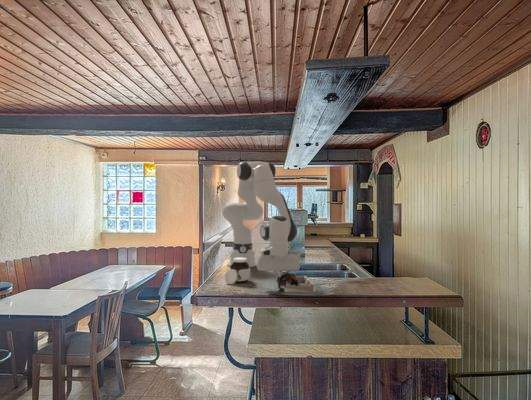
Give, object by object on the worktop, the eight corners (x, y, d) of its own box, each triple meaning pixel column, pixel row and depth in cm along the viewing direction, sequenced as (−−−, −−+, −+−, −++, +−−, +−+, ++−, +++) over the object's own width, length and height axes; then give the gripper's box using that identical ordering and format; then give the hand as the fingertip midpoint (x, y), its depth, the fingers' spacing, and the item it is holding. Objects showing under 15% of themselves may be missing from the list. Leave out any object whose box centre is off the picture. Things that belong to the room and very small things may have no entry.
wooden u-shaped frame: (277, 281, 176) (277, 275, 176) (305, 281, 178) (306, 275, 178) (283, 292, 156) (283, 285, 156) (315, 291, 158) (316, 284, 158)
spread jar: (251, 280, 179) (251, 257, 179) (247, 285, 168) (247, 261, 168) (227, 279, 180) (228, 256, 180) (223, 284, 169) (223, 260, 169)
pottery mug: (298, 293, 156) (289, 277, 156) (281, 300, 160) (272, 285, 160) (304, 280, 168) (295, 266, 167) (287, 287, 171) (279, 273, 171)
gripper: (299, 249, 169) (298, 278, 170) (257, 249, 167) (256, 278, 168) (301, 252, 163) (300, 281, 163) (257, 251, 161) (257, 281, 162)
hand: (277, 279), depth 166 cm, fingers closed
